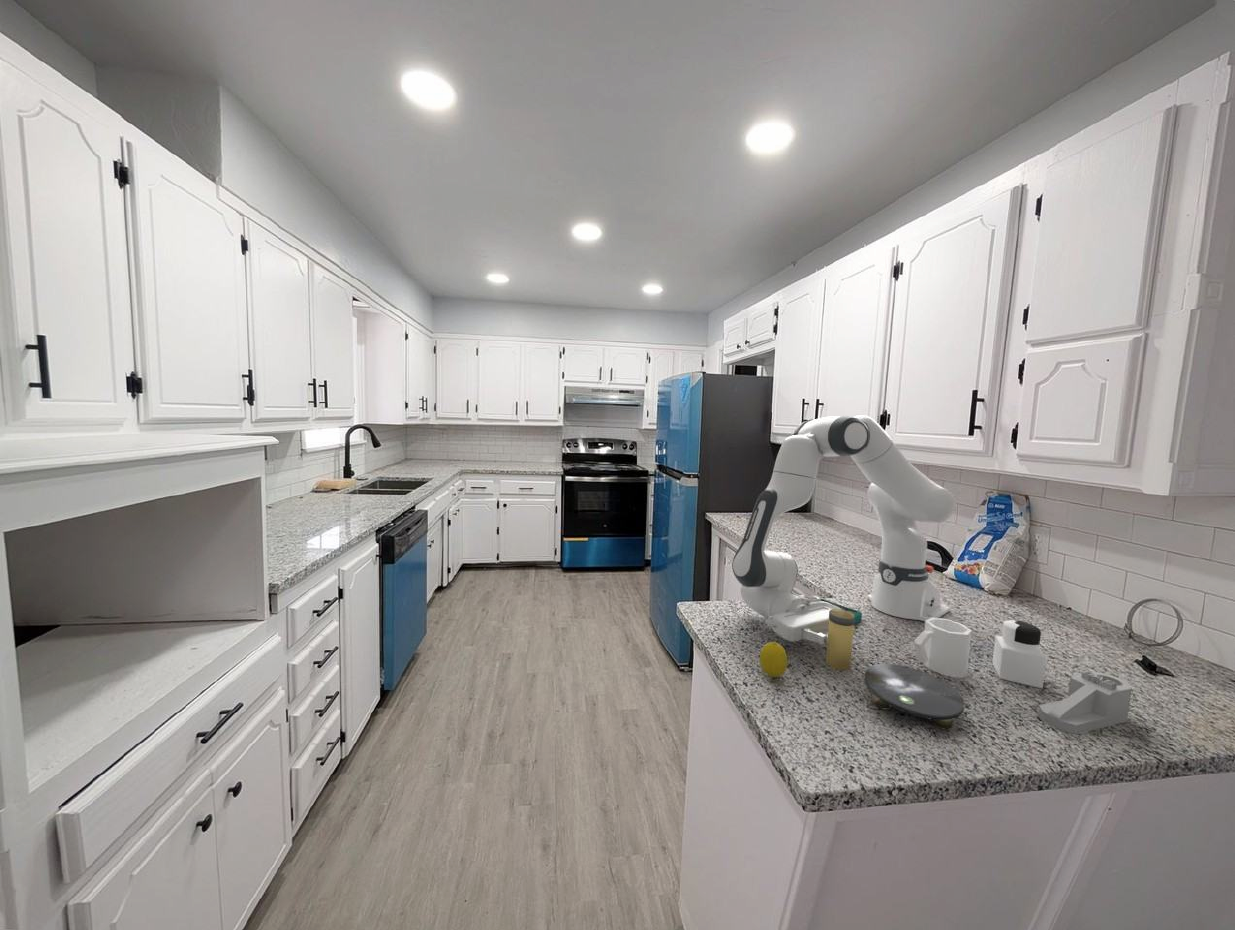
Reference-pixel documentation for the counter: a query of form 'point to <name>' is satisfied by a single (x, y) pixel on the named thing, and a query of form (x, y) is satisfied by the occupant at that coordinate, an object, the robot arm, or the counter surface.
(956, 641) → the mug
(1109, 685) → the sloped support bracket
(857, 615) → the digital multimeter
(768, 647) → the lemon
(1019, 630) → the medicine bottle
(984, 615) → the counter surface
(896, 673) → the plate
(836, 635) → the yellow lidded tumbler
